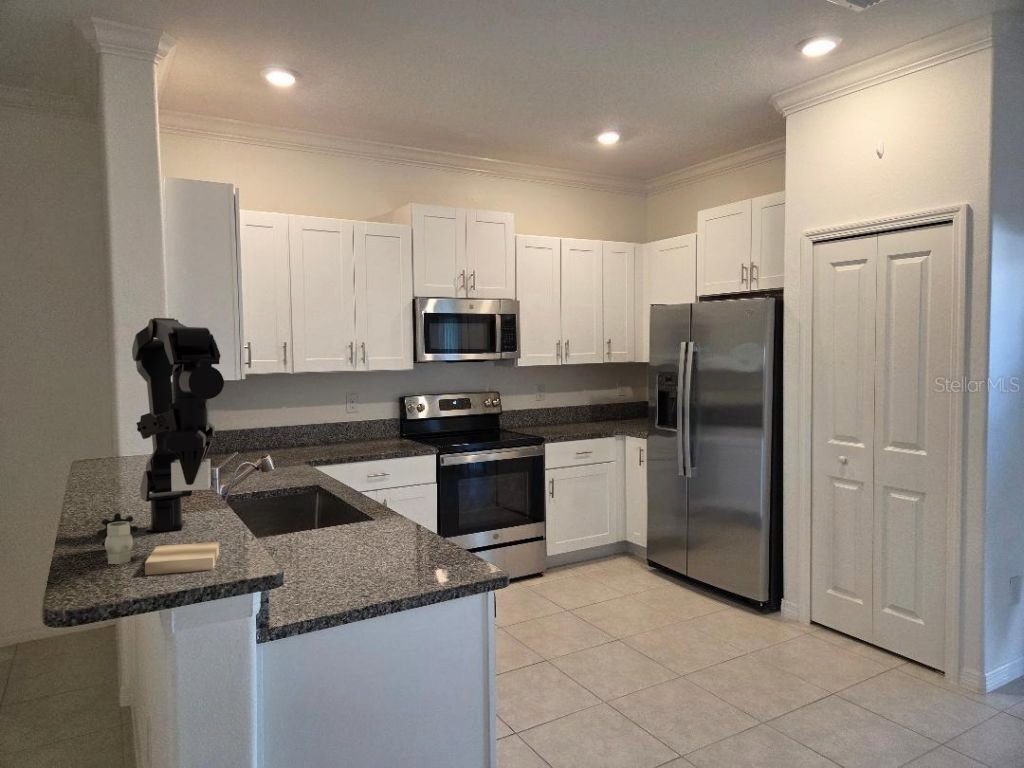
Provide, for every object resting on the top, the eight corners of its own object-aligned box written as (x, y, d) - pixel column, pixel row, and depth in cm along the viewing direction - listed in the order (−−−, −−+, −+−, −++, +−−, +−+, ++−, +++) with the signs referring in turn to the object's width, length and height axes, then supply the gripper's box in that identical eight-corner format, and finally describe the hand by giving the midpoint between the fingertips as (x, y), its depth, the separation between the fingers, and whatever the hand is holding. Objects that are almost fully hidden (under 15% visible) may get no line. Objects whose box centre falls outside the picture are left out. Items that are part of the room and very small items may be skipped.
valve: (141, 562, 118) (138, 545, 128) (141, 524, 117) (137, 510, 128) (96, 568, 114) (96, 550, 125) (95, 528, 114) (96, 514, 124)
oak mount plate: (157, 557, 120) (156, 546, 120) (219, 552, 123) (219, 541, 123) (145, 575, 111) (144, 562, 110) (212, 569, 114) (212, 557, 113)
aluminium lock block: (175, 487, 127) (174, 459, 126) (210, 485, 128) (210, 458, 128) (171, 491, 123) (171, 463, 123) (208, 489, 125) (207, 461, 124)
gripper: (150, 394, 131) (152, 476, 132) (128, 400, 114) (130, 495, 114) (214, 393, 135) (215, 473, 135) (202, 399, 117) (203, 491, 118)
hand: (191, 482), depth 126 cm, fingers closed on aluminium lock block, 4 cm apart
